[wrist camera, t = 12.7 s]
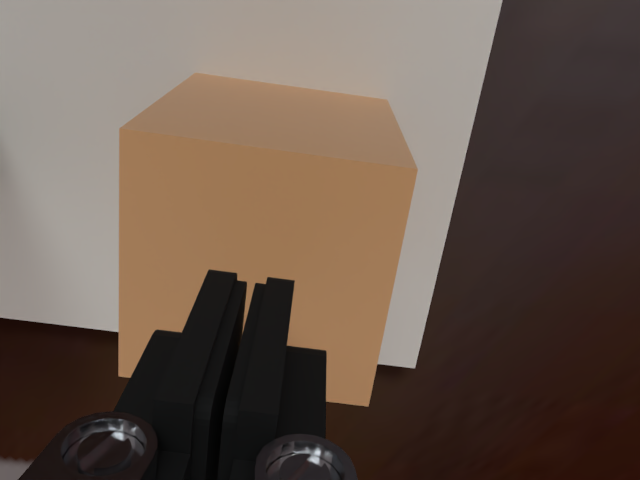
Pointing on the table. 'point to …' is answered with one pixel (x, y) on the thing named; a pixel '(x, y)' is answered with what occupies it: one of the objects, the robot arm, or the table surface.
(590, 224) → the table surface
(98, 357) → the table surface
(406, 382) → the table surface
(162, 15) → the board
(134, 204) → the block
